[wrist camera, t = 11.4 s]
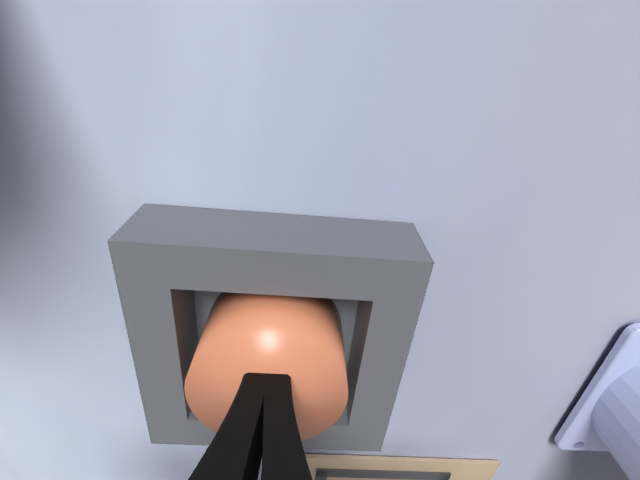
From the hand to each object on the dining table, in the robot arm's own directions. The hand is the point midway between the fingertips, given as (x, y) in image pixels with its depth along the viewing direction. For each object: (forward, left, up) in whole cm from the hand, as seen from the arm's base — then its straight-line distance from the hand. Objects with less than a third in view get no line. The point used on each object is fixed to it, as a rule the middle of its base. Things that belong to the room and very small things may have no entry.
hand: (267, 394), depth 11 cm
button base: (0, 0, -4) cm, 4 cm away
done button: (0, 0, -3) cm, 3 cm away
